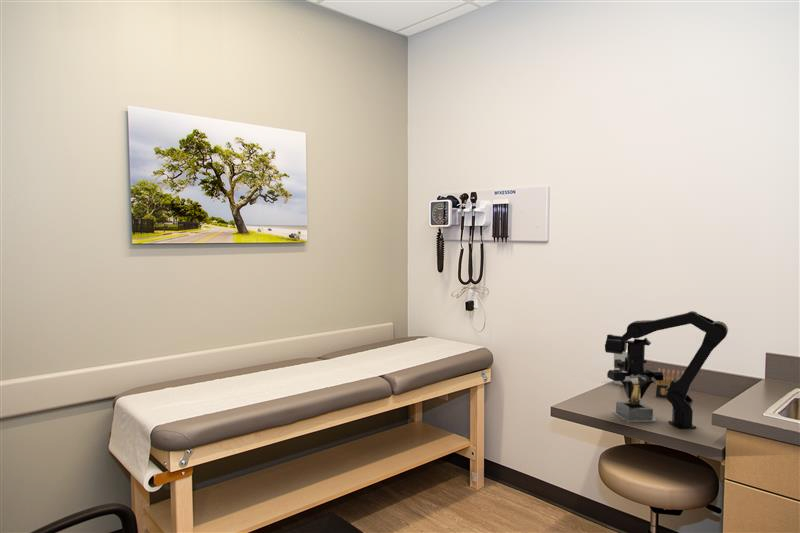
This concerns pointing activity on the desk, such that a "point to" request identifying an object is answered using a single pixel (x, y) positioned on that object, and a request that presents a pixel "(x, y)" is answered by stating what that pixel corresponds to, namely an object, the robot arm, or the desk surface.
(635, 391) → the bushing
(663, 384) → the ammunition clip
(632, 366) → the robot arm
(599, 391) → the desk surface
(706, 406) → the desk surface
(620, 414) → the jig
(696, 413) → the desk surface
